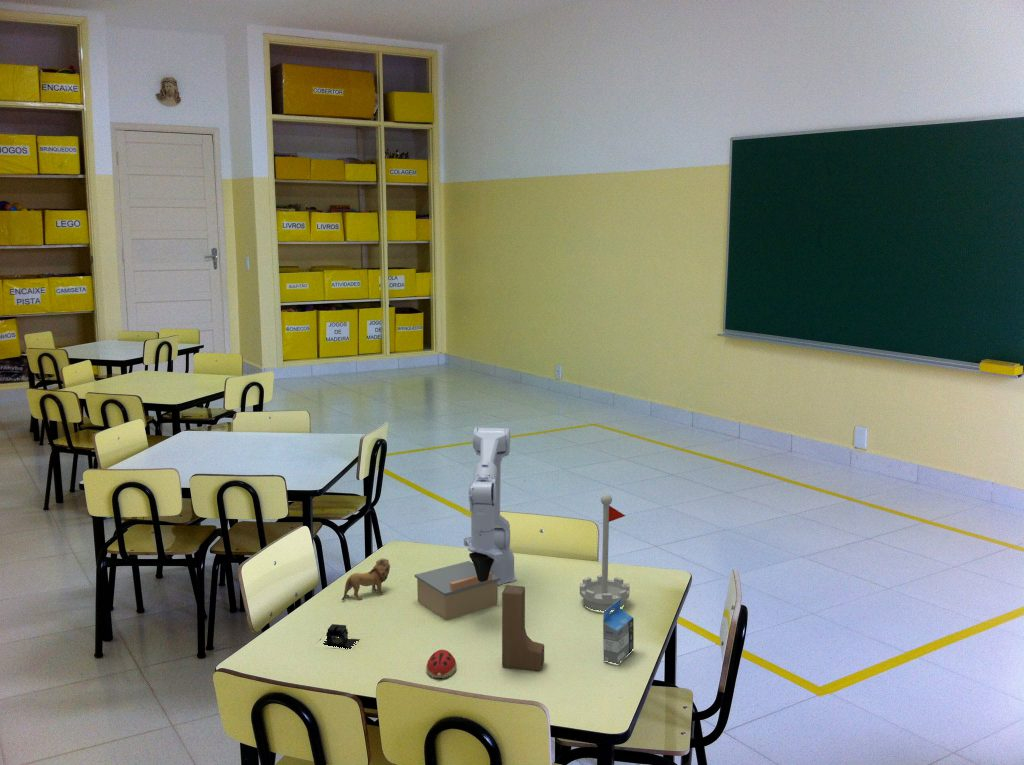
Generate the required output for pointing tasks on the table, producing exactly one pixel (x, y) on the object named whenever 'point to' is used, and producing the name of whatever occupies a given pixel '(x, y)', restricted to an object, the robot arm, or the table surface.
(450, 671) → the ladybug figurine
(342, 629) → the black piece
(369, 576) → the lion figurine
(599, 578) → the flag stand
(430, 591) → the box
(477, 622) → the table surface
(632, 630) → the label tape box
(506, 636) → the wooden block
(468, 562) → the sliding lid
